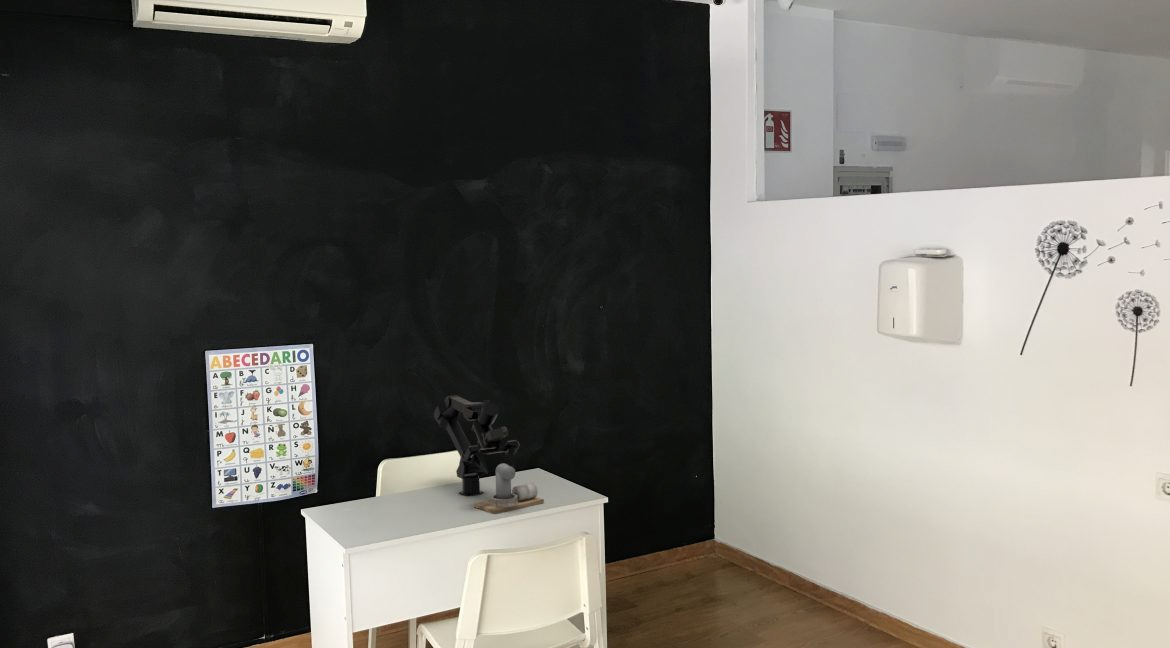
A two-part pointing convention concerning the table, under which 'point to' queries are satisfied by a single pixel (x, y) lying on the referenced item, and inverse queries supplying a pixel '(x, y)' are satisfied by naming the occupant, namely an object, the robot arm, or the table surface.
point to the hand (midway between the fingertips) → (500, 471)
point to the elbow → (504, 481)
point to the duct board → (512, 500)
